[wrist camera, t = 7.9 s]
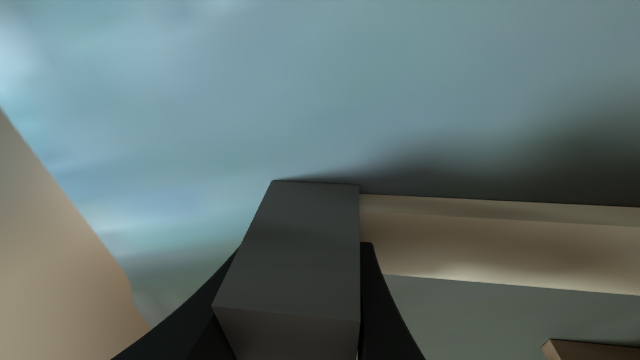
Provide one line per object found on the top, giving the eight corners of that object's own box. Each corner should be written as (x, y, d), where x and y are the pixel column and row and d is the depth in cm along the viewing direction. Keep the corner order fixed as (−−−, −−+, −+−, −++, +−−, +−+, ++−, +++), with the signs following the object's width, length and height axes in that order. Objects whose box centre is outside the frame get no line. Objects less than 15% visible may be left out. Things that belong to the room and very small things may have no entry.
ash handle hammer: (619, 279, 13) (782, 452, 8) (283, 253, 15) (246, 378, 10) (700, 200, 10) (1036, 393, 5) (271, 180, 12) (210, 305, 7)
